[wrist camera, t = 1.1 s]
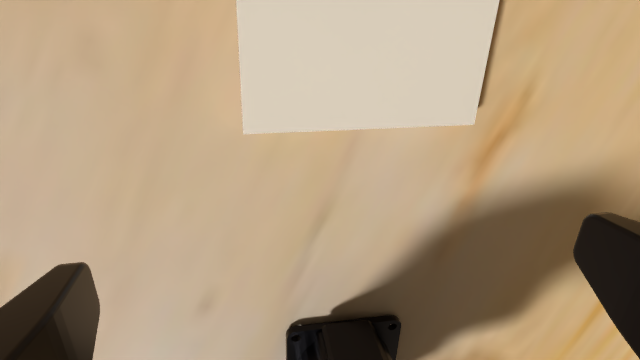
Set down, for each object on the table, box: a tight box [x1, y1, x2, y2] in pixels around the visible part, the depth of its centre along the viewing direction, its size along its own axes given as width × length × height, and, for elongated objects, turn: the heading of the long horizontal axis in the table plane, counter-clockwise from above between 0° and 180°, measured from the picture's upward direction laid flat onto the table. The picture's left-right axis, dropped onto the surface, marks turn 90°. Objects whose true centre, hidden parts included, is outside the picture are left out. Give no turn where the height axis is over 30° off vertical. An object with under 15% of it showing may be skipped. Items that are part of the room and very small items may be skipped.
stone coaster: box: [236, 0, 499, 134], centre depth 17 cm, size 10×10×1 cm
